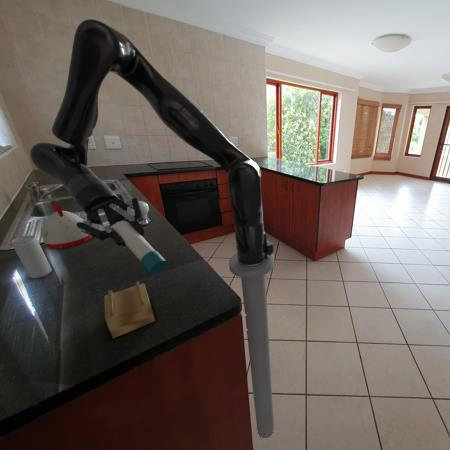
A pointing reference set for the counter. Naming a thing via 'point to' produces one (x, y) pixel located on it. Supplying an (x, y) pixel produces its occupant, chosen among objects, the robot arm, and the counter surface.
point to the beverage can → (32, 256)
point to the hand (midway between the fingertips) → (132, 238)
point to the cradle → (127, 310)
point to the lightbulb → (143, 212)
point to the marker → (140, 248)
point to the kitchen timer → (62, 229)
